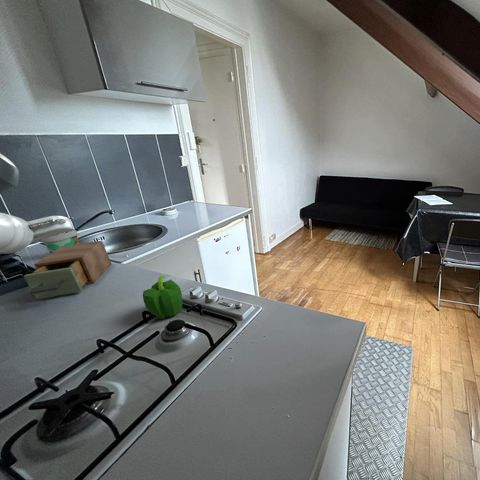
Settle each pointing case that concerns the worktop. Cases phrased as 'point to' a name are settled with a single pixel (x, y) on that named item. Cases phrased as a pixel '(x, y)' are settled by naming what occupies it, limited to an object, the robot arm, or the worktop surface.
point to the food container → (60, 240)
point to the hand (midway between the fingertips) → (30, 238)
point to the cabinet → (81, 258)
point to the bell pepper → (163, 298)
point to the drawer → (57, 279)
